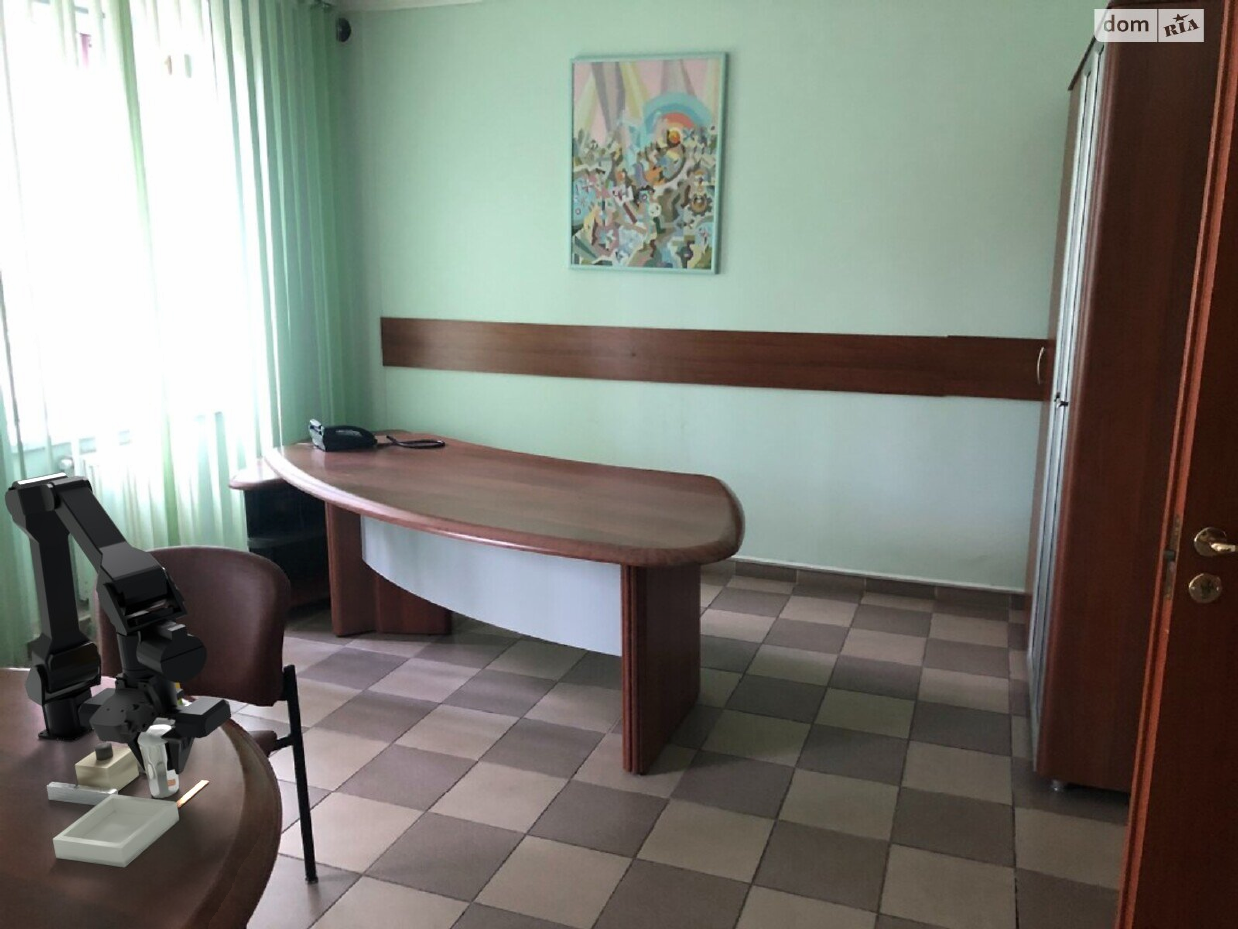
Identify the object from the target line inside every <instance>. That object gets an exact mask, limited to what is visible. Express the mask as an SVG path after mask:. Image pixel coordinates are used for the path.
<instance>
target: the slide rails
mask: <svg viewBox="0 0 1238 929" xmlns="http://www.w3.org/2000/svg"><path fill="white" fill-rule="evenodd" d="M136 761H137V767H138V773H143V774H146V771H144V770H143V768H142V766H141V765H140V763H139V762H138V760H137V759H136ZM209 783H210V781H209V780H203V779H202V780H200V782H199V783H197V784H196V785H195V786H194V787H193V788H191V789H190V790H189V791H187V793H186V794H184V795H183V796H182V797H181V798H179V799H178V800H177V801H176V802H177V809H179V808H181V807H182V806H184V805H185V804H186V803H187V802H188V801H189V800H190V799H192V798H193V796H195V795H197V794H198V792H200V791H201V790H202V789H203V788H204V787H206V786H207V785H208V784H209ZM46 791H47V795H48V796H47V798H48V800H50V801H58V802H63V803H64V802H67V803H73V804H82V805H90V806H97V805H98V804H99V803H101V802H102V801H103V800H105V799H106V798H107V797H109V796H110V795H111V794H115V795H119V793H118V792H119V791H117V789H109V788H101V787H93V786H84V785H78V784H76V783H75V784H74V783H68V782H67V783H66V782H59V781H51V782H50V783H49V784H47V785H46Z"/></svg>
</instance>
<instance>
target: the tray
mask: <svg viewBox="0 0 1238 929" xmlns="http://www.w3.org/2000/svg"><path fill="white" fill-rule="evenodd" d="M179 821H180V816H179V808H177V801H171V800H162V799H156V798H155V799H154V798H146V797H139V796H138V797H137V796H130V795H122V794H118V795H115V794H111V795H110V796H109V797H107V798H106V799H105V800H103V801H102V802H101V803H99V804H98V805H97V806H96V805H94V807H93V808H91V809H90V810H89V811H88V812H86V813H84V814H83V815H82V816H81V817H80V818H78V819H77V820H76V821H73V823H72V824H70V825H69V826H68V827H67V828H65V829H64V830H63V831H61V832H60V833H59V834H57V835H56V836H55V837H53V838H52V842H53V848H54V852H55V854H54V855H55V858H56V859H63V860H70V861H75V862H84V863H92V864H96V865H97V864H98V865H106V866H111V867H119V868H126V867H127V866H128V865H129V864H131V862H133V861H134V860H135V859H136V858H138V857H139V856H140V855H141V854H142V853H143V852H144V851H146V850H147V849H148V848H149V847H150V846H151V845H152V844H153V843H155V842H156V841H157V840H158V839H160V838H161V837H162V836H163V835H164V834H165V833H166V832H167V831H168V830H170V829H171V828H172V827H173V826H174V825H175V824H177V823H178V822H179Z"/></svg>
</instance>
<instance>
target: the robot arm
mask: <svg viewBox="0 0 1238 929" xmlns="http://www.w3.org/2000/svg"><path fill="white" fill-rule="evenodd" d="M92 486H93V485H92V484H91V481H90V480H89V479H88V477H86V476H81V475H74V476H70V477H69V476H67V474H66V473H65V472H62V471H59V472H54V473H50V474H45V475H39V476H34V477H30V478H24V479H20V480H15V481H13V482H12V483H11V486H8V488H7V491H5V493H4V500H5V501H4V502H5V506H6V509H7V511H8V513H9V514H10V515H11V519H12V522H13V523H14V524H15V525H16V526H17V528H18V529H20V530H21V532H23V533H24V534H25V536H26V537H28V540H29V546H30V554H31V561H32V567H33V568H32V570H33V574H34V582H35V590H36V597H37V606H38V610H39V611H38V612H39V618H40V626H41V633H40V635H39V637H38V638H37V640H36V642H35V644H34V645H33V646H32V648H31V659H32V660H31V662H32V666H31V667H30V668H29V672H28V675H27V676H26V679H25V682H24V688H25V691H26V695H27V697H28V699H29V700H31V701H32V702H34V703H35V704H37V705H39V706H40V707H41V710H42V714H43V721H44V725H45V729H43V730H42V731H40V732H38V733H37V737H38V738H39V739H49V740H57V741H58V740H59V741H66V742H67V741H68V742H74V741H77V740H78V739H79V738H81V737H82V736H84V735H86V734H87V733H89V732H90V731H92V730H93V731H94V733H95V735H96V736H97V738H98V739H99V741H100V742H102V743H107V742H110V743H111V742H113V743H118V744H121V745H125V744H126V745H127V746H128V748H130V749H131V750H132V752H133V754H134V756H135V757H136V759H137V760H138V762H139V763H140V765H141V766H142V768H143V770H144V771H146V770H145V766H144V762H143V758H142V755H141V751H140V748H139V744H138V737H139V735H140V734H141V732H146V731H147V730H148V729H149V728H150V726H153V722H154V721H155V720H165V721H167V720H171V729H170V730H169V731H167V732H166V733H165V734H163V735H162V736H160V737H161V738H162V739H164V740H166V741H167V742H169V746H170V752H171V757H172V763H173V767H174V770H175V773H176V774H177V775H178V776H179V775H180V774H182V773H183V772H184V770H185V768H186V765H187V762H188V759H189V756H190V753H191V750H192V748H193V745H194V741H195V739H202V738H206V737H208V736H209V735H210V734H212V733H213V732H215V731H216V730H217V729H218V728H219V727H221V726H223V724H224V723H226V722H227V721H228V720H229V719H231V718H232V711H231V705H230V702H229V701H228V700H227V699H225V698H223V697H221V698H220V697H210V696H199V697H198V698H196V699H195V700H194V701H192V702H191V703H187V704H183V705H177V704H178V700H180V699H181V698H182V699H183V698H184V697H185V692H184V689H183V688H180V689H176V685H175V683H179V684H182V683H187V682H189V681H191V680H193V679H194V678H196V677H197V676H198V675H199V674H200V673H201V671H202V670H203V668H204V667H205V665H206V662H207V658H208V657H207V656H208V652H207V648H206V646H205V644H204V643H203V641H202V640H201V639H200V638H198V637H196V636H195V635H192V634H190V633H188V628H187V626H186V625H185V624H182V623H177V619H180V618H184V617H186V616H188V612H187V609H186V607H185V602H186V600H185V598H184V596H183V594H182V593H181V591H180V589H179V587H178V586H177V585H176V583H175V582H174V580H173V578H172V576H171V575H170V574H169V572H168V570H167V569H166V568H165V567H163V566H162V565H161V564H160V563H159V562H158V561H157V559H156V558H155V557H154V556H153V555H152V554H151V553H150V552H149V551H145V550H142V549H139V548H137V547H135V546H132V545H131V544H130V543H129V542H128V540H127V538H126V537H125V536H124V534H123V533H122V532H121V531H120V529H119V528H118V526H117V525H116V523H115V522H114V521H113V519H112V518H111V517H110V515H109V514H108V512H107V510H105V508H104V507H103V505H102V504H101V503H100V501H99V500H98V499H97V497H96V496H95V494H94V490H93V487H92ZM70 535H71V536H72V538H73V539H74V541H75V542H76V543H77V546H78V547H79V548H80V549H81V551H82V552H83V553H84V555H85V557H86V558H87V559H88V561H89V562H90V565H92V566H93V568H94V570H95V573H96V574H97V578H96V585H95V591H96V593H97V598H98V602H99V605H100V606H101V608H102V610H103V611H104V612H105V614H106V615H107V617H108V619H109V621H110V624H112V625H113V626H114V628H115V633H116V640H117V644H118V646H117V647H118V652H119V653H118V654H119V658H120V659H119V660H120V664H121V671H122V672H121V673H118V674H119V675H118V674H117V675H115V680H114V685H115V688H114V687H106V688H105V689H103V690H101V691H100V692H98V693H97V694H95V695H93V694H92V690H91V689H92V688H93V687H98V686H101V685H102V663H103V662H102V655H101V654H100V653H99V651H98V646H97V645H96V644H95V642H93V641H92V640H91V639H90V637H88V636H87V635H86V634H85V633H84V632H83V631H82V630H81V625H80V624H81V623H80V618H79V608H78V601H77V594H76V586H75V579H74V570H73V564H72V554H71V546H70V540H69V538H70ZM165 603H167V604H168V605H166V606H163V605H164V604H165ZM160 606H163V607H161V608H157V607H160ZM154 608H157V609H154ZM151 609H154V610H151ZM147 610H151V611H147Z"/></svg>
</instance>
